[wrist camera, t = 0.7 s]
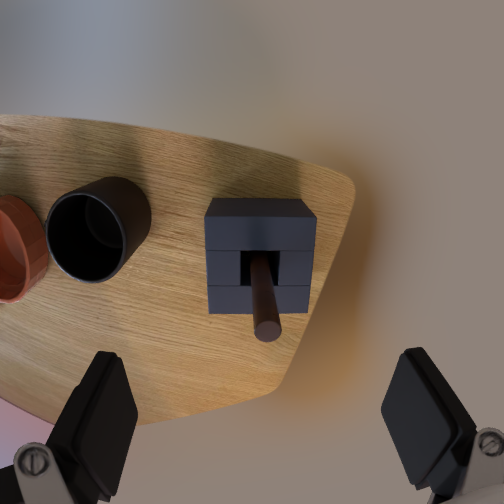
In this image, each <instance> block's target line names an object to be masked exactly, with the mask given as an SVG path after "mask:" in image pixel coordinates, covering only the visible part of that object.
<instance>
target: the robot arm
mask: <svg viewBox="0 0 504 504" xmlns="http://www.w3.org/2000/svg"><path fill="white" fill-rule="evenodd" d="M381 413H382V416H383V418H384V421H385V423H386V425H387V428H388V430H389V433H390V435H391V437H392V439H393V442H394V444H395V447H396V449H397V452H398V454H399V457H400V459H401V461H402V464H403V466H404V469H405V471H406V474H407V476H408V479H409V481H410V483H411V484H412V485H415V487H416V490H420V489H423V488H426V487H429V486H430V487H431V490H432V493H431V496H430V498H429V501H428V503H427V504H504V433H502V432H501V431H500V430H498V429H495V428H489V427H488V428H484V429H482V430H480V431H479V432H477V431H476V427H477V426H476V425H475V423H474V421H473V420H472V418H471V417H470V415H469V414H468V412H467V411H466V409H465V408H464V406H463V405H462V403H461V402H460V400H459V399H458V397H457V396H456V394H455V393H454V391H453V390H452V388H451V387H450V385H449V384H448V382H447V381H446V380H445V378H444V377H443V375H442V374H441V372H440V371H439V370H438V368H437V367H436V365H435V364H434V363H433V361H432V360H431V358H430V357H429V356H428V355H427V353H426V352H425V350H424V349H423V348H422V347H417V348H409V349H406V350H405V351H404V353H403V354H401V355H400V357H399V361H398V363H397V366H396V369H395V372H394V374H393V377H392V380H391V383H390V385H389V388H388V390H387V393H386V395H385V398H384V400H383V403H382V406H381ZM137 419H138V411H137V407H136V404H135V401H134V398H133V395H132V392H131V389H130V386H129V382H128V379H127V376H126V372H125V369H124V365H123V362H122V359H121V358H120V357H117V354H116V353H114V352H106V351H98V352H97V354H96V355H95V357H94V359H93V361H92V362H91V364H90V366H89V368H88V370H87V371H86V373H85V375H84V377H83V379H82V380H81V382H80V384H79V385H78V386H76V387H75V389H74V390H73V392H72V394H71V395H70V397H69V399H68V401H67V403H66V405H65V407H64V409H63V410H62V412H61V414H60V416H59V418H58V420H57V422H56V424H55V426H54V428H53V430H52V432H51V434H50V436H49V438H48V440H47V442H46V444H45V445H44V444H42V443H36V442H32V443H27V444H25V445H23V446H22V447H20V448H19V449H18V451H17V452H16V454H15V456H14V461H13V462H14V464H13V465H10V466H8V467H5V468H2V469H0V504H97V502H98V500H102V501H105V502H110V498H111V496H115V495H116V493H117V489H118V486H119V481H120V478H121V474H122V471H123V467H124V464H125V460H126V456H127V453H128V450H129V446H130V443H131V439H132V436H133V432H134V429H135V426H136V423H137Z"/></svg>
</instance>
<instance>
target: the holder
mask: <svg viewBox="0 0 504 504" xmlns="http://www.w3.org/2000/svg"><path fill="white" fill-rule="evenodd" d="M204 222H205V250H206V272H207V292H208V309H209V314H253V305H252V289H251V272H250V256H249V255H241V250H271V255H267V257H268V262H269V267H270V272H271V277H272V282H273V287H274V292H275V298H276V303H277V308H278V313H279V314H286V313H308V305H309V297H310V287H311V278H312V268H313V258H314V247H315V235H316V223H317V217H316V216H315V215H314V214H313V212H312V211H311V210H310V209H309V208H308V207H307V205H306V204H305V203H304V202H303V201H302V200H301V199H275V198H212V201H211V203H210V205H209V207H208V210H207V212H206V214H205V216H204Z"/></svg>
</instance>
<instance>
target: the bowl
mask: <svg viewBox="0 0 504 504" xmlns="http://www.w3.org/2000/svg"><path fill="white" fill-rule="evenodd" d="M47 266H48V247H47V242H46V236H45V233H44V231H43V228H42V226H41V223H40V221H39V219H38V217H37V216H36V215H35V213H34V212H33V210H32V209H31V207H29V206H28V205H27V204H26V203H25V202H23V201H22V200H21V199H19V198H17V197H14V196H11V195H3V196H0V302H3V303H14V302H17V301H19V300H21V299H22V298H23V297H24V296H25V295H26V294H27V293H28V292H29V291H30V290H31V289H32V288H34V287H35V286H36V285H37V284H38V283H39V281H40V280H41V279H42V278H43V277H44V274H45V271H46V269H47Z"/></svg>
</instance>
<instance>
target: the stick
mask: <svg viewBox="0 0 504 504" xmlns="http://www.w3.org/2000/svg"><path fill="white" fill-rule="evenodd" d="M249 256H250V272H251V289H252V305H253V321H254V334H255V336H256V338H257V339H259V340H260V341H263V342H272V341H274V340H276V339H277V338H278V337H279V336H280V335H281V332H282V329H281V323H280V318H279V313H278V308H277V303H276V298H275V292H274V287H273V282H272V277H271V272H270V267H269V262H268V257H267V252H266V250H249Z"/></svg>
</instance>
